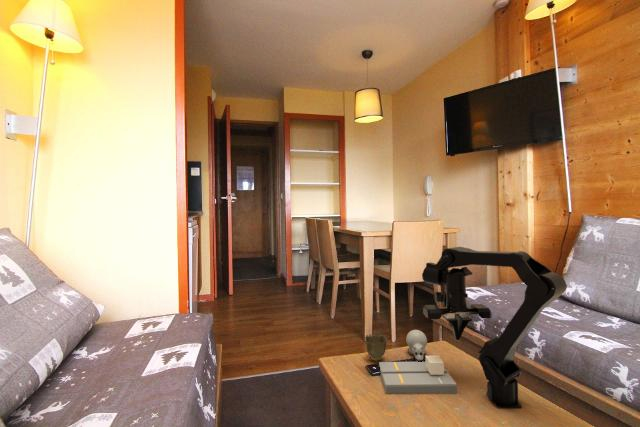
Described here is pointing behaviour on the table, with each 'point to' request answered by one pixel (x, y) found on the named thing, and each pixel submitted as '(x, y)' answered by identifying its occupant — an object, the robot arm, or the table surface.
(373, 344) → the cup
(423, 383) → the console board
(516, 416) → the table surface
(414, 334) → the chubby cartoon animal
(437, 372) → the fader cap
